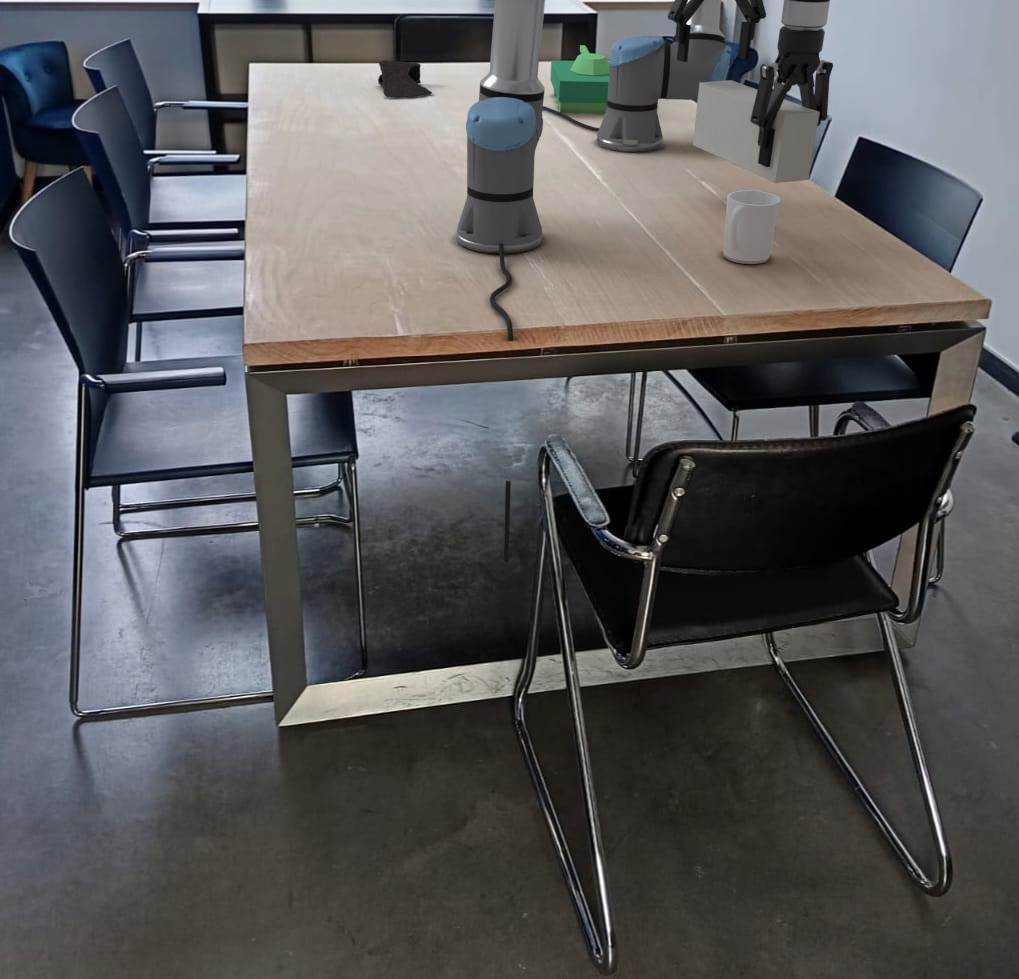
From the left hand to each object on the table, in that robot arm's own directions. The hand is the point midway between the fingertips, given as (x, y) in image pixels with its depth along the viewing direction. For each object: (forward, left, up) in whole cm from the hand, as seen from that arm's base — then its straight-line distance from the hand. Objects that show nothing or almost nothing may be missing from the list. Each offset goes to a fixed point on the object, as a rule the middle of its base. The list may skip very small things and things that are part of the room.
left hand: (782, 162), depth 197 cm
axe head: (+104, +92, -12) cm, 139 cm away
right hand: (+23, +13, +13) cm, 30 cm away
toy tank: (+101, +41, -12) cm, 110 cm away
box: (+9, +5, -2) cm, 11 cm away
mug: (-17, +6, -12) cm, 22 cm away
